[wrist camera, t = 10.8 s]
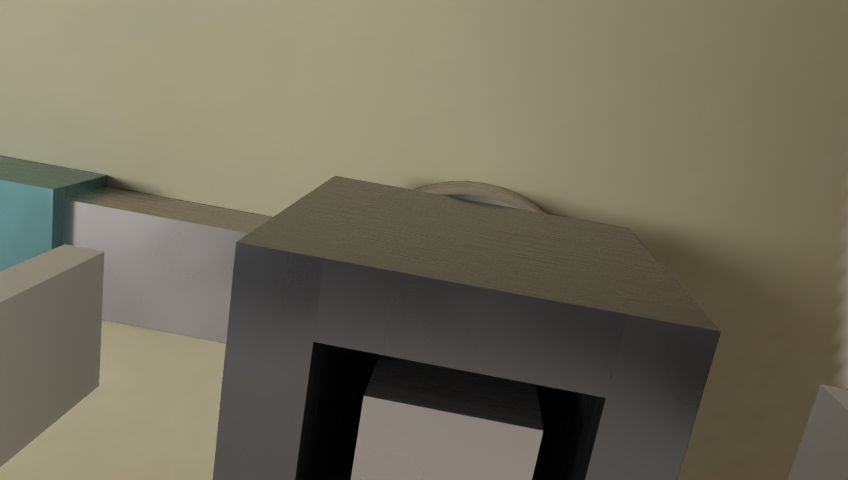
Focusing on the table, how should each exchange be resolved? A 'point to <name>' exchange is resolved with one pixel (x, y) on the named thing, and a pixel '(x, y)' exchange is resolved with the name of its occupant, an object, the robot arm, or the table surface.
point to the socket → (455, 330)
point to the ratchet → (210, 302)
